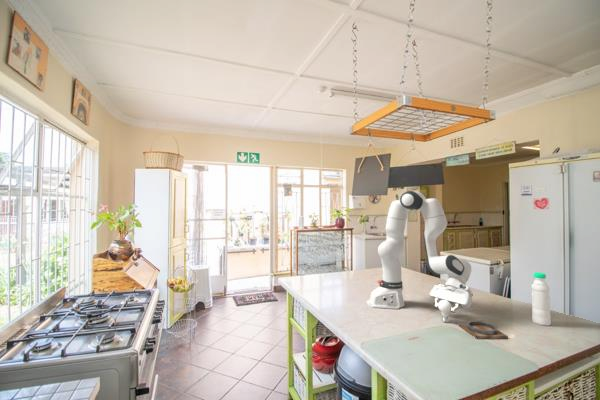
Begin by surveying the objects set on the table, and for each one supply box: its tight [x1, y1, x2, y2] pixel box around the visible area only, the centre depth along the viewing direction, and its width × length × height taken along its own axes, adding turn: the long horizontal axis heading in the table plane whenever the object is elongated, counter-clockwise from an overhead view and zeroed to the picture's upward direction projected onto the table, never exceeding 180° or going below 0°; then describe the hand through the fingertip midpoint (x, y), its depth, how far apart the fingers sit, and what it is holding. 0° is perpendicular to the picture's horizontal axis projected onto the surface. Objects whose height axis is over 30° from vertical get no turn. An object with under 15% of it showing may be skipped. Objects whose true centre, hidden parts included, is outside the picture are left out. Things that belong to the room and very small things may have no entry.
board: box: [458, 322, 509, 340], centre depth 131 cm, size 14×14×1 cm
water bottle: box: [530, 271, 552, 327], centre depth 141 cm, size 7×7×25 cm
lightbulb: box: [437, 300, 453, 323], centre depth 143 cm, size 6×6×11 cm
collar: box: [467, 320, 498, 335], centre depth 131 cm, size 12×12×2 cm
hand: (444, 309), depth 143 cm, fingers open, 7 cm apart
